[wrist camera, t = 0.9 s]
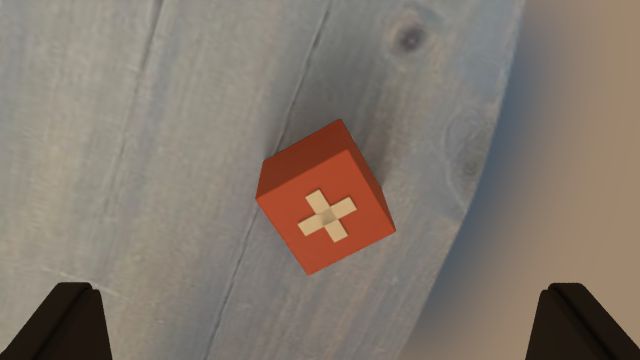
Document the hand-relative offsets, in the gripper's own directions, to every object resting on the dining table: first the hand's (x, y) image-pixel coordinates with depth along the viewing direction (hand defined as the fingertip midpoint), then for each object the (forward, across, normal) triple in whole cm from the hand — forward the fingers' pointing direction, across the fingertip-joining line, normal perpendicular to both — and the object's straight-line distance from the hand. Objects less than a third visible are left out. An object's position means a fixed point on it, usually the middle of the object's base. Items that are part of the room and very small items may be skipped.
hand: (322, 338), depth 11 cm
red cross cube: (+16, -1, +3) cm, 16 cm away
